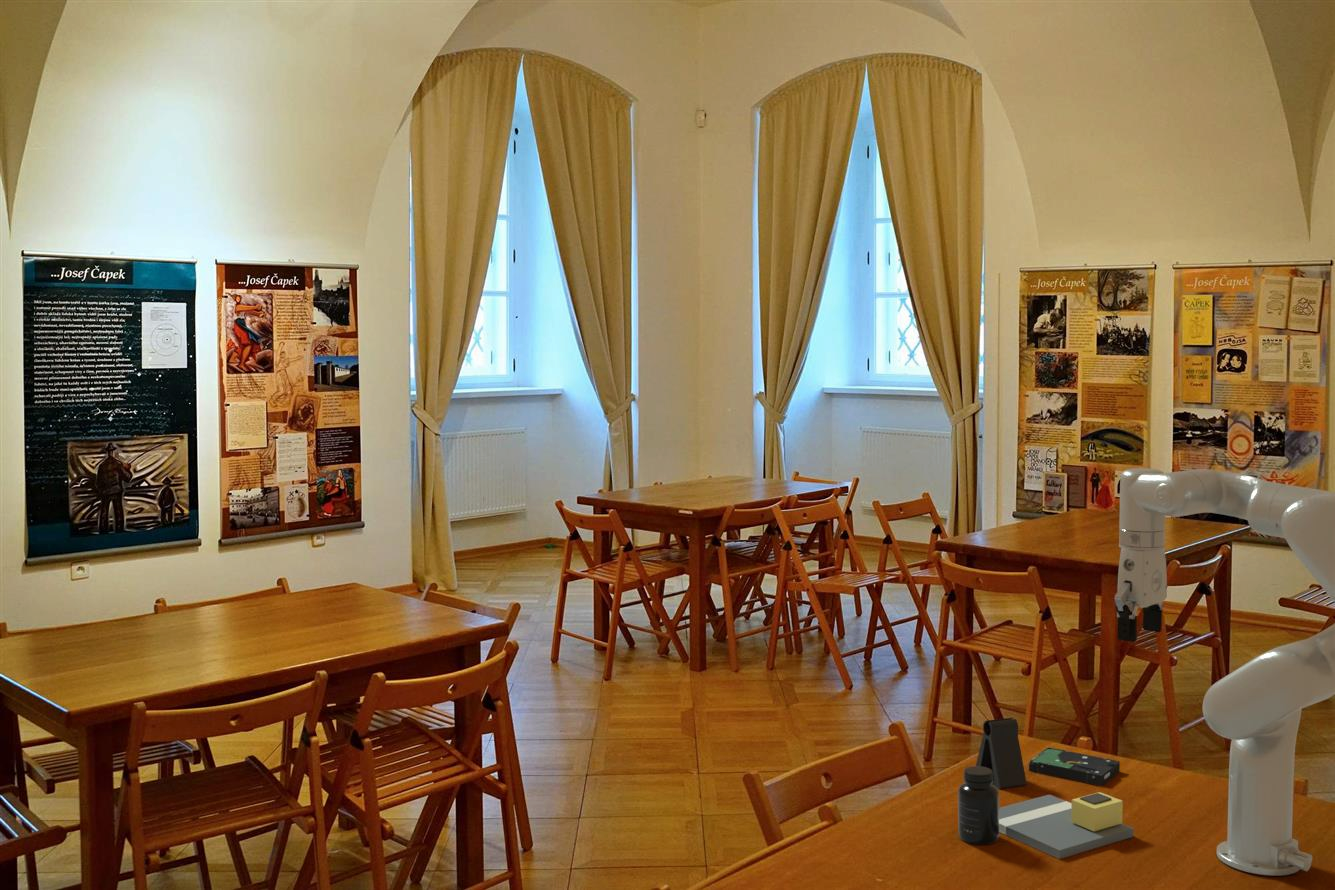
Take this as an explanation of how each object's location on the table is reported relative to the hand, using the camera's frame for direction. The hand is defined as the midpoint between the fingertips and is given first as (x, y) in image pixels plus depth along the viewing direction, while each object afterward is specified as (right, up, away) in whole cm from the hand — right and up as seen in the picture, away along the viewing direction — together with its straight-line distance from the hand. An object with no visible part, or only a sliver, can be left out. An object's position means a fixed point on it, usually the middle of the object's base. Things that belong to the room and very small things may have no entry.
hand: (1139, 635), depth 223 cm
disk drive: (-3, -32, +28) cm, 43 cm away
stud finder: (-9, -32, -3) cm, 33 cm away
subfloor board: (-15, -34, -1) cm, 37 cm away
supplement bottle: (-30, -34, -5) cm, 46 cm away
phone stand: (-18, -32, +24) cm, 44 cm away
